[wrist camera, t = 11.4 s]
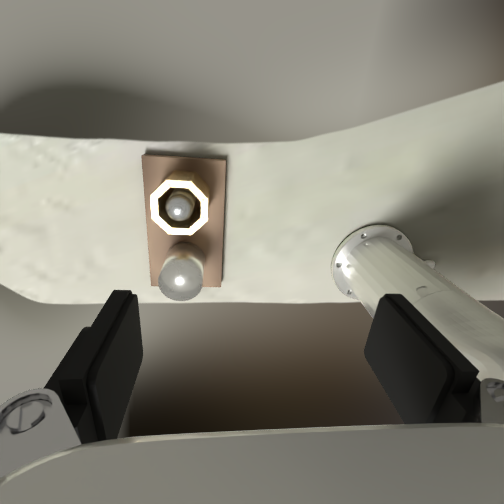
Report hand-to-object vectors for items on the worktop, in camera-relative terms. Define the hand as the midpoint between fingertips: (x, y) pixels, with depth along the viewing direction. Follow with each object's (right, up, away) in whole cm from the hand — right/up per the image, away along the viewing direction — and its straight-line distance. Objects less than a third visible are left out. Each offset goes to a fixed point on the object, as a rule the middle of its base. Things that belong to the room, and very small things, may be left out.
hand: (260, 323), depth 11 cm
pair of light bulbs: (-9, +5, +28) cm, 30 cm away
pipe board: (-9, +6, +29) cm, 32 cm away
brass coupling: (-9, +10, +26) cm, 29 cm away
